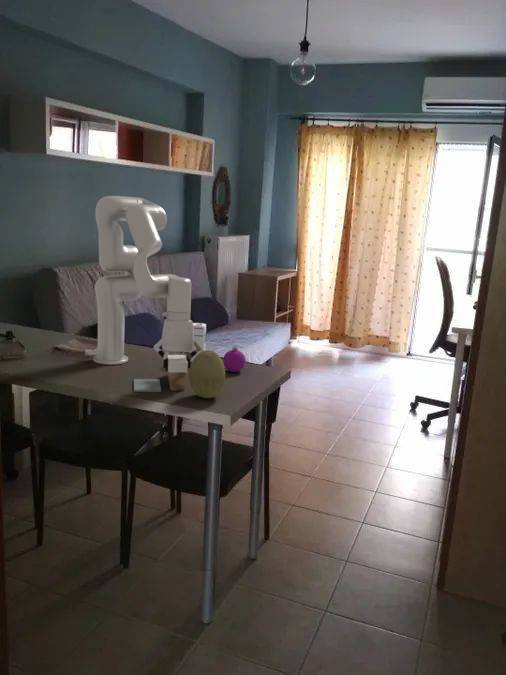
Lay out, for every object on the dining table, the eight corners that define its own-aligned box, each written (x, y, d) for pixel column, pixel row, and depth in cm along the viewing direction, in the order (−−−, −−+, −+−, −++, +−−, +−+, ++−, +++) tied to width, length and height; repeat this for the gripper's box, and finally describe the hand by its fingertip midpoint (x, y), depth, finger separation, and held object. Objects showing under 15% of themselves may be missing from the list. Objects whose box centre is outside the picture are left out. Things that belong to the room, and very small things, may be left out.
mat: (133, 391, 185) (134, 390, 185) (133, 380, 197) (133, 379, 196) (161, 391, 187) (161, 390, 187) (159, 380, 198) (159, 379, 198)
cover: (168, 372, 187) (168, 362, 187) (166, 364, 197) (167, 354, 196) (187, 372, 189) (187, 362, 188) (185, 364, 198) (185, 354, 198)
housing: (170, 390, 189) (171, 372, 188) (167, 375, 206) (168, 358, 204) (184, 390, 190) (185, 372, 188) (180, 375, 206) (180, 358, 205)
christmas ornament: (222, 368, 219) (223, 341, 217) (244, 368, 220) (245, 342, 218) (222, 374, 211) (224, 347, 209) (245, 375, 212) (247, 347, 210)
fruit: (181, 398, 181) (183, 351, 178) (197, 389, 192) (199, 344, 188) (215, 405, 177) (217, 356, 174) (230, 395, 188) (232, 349, 185)
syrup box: (203, 363, 223) (205, 326, 220) (188, 362, 223) (189, 325, 220) (205, 360, 229) (206, 323, 226) (190, 359, 229) (191, 322, 226)
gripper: (151, 317, 184) (150, 373, 188) (206, 319, 188) (204, 373, 192) (151, 313, 192) (149, 367, 195) (204, 314, 195) (201, 367, 199)
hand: (176, 369), depth 193 cm, fingers closed on cover, 6 cm apart
